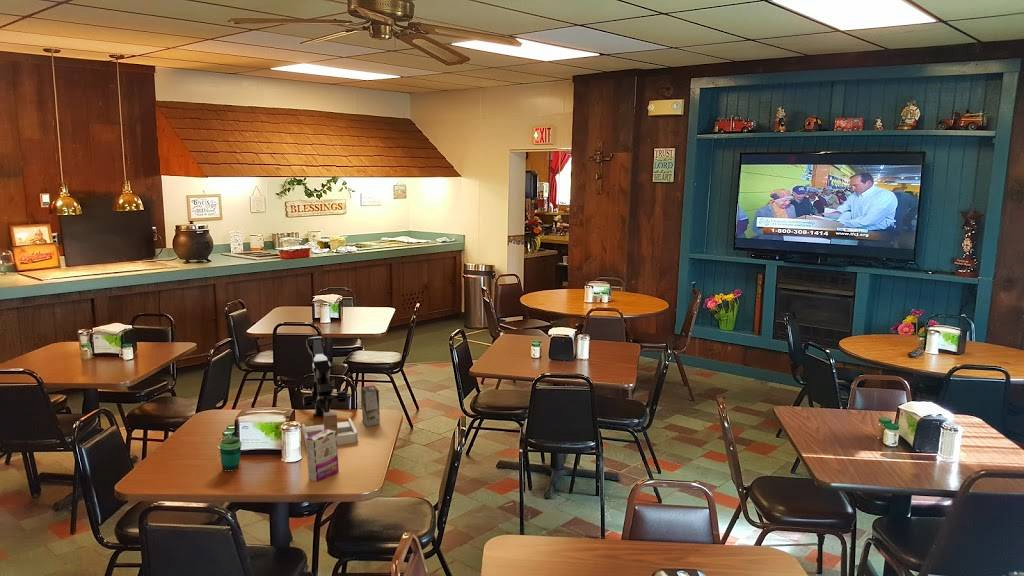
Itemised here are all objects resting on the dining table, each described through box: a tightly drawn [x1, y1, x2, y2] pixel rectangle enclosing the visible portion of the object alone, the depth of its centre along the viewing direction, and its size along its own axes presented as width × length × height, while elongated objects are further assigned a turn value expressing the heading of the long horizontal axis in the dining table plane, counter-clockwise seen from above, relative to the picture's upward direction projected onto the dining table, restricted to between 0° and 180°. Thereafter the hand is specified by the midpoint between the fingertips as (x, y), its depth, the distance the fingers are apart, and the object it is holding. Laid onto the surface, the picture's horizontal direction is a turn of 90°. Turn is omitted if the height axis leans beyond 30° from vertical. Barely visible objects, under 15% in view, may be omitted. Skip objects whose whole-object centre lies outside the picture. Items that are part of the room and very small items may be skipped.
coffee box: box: [360, 385, 381, 427], centre depth 330 cm, size 9×6×16 cm
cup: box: [218, 436, 243, 471], centre depth 279 cm, size 8×8×12 cm
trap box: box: [301, 417, 359, 446], centre depth 312 cm, size 21×21×4 cm
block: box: [322, 411, 338, 435], centre depth 306 cm, size 5×5×10 cm
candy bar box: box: [305, 429, 340, 483], centre depth 272 cm, size 11×5×16 cm, turn 148°
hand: (327, 415), depth 316 cm, fingers closed
